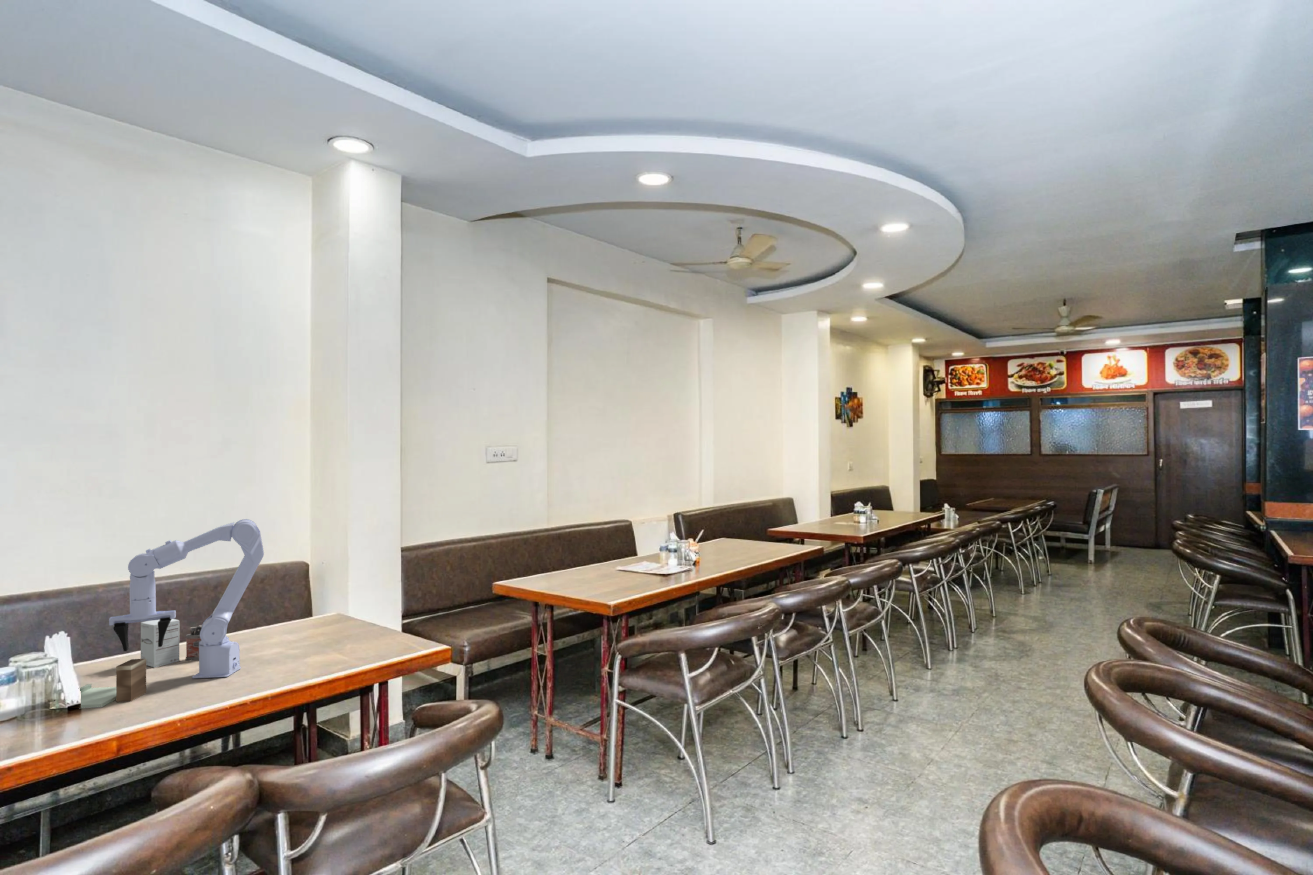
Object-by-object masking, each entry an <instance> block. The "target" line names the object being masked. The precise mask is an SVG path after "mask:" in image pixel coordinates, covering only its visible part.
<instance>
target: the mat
mask: <svg viewBox="0 0 1313 875" xmlns="http://www.w3.org/2000/svg"><path fill="white" fill-rule="evenodd" d="M79 688H80V691H81V708H80V709H89V708H90V709H93V708H94V709H95V708H103V707H104V706H107V705H108V704H109V705H110V703H112V702H114V701H116V686H105V687H92V683H88V684H85V685H83V686H81V687H79Z"/></svg>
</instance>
